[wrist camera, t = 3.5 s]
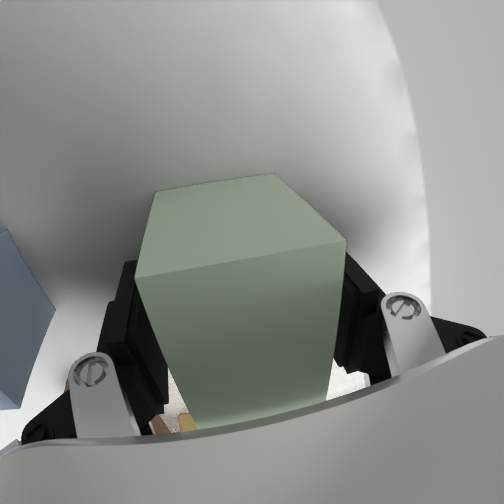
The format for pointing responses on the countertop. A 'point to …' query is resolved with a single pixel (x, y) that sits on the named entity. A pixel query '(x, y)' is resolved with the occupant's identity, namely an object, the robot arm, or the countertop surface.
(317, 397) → the sage brick
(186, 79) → the countertop surface
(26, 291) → the slate brick
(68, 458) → the robot arm
